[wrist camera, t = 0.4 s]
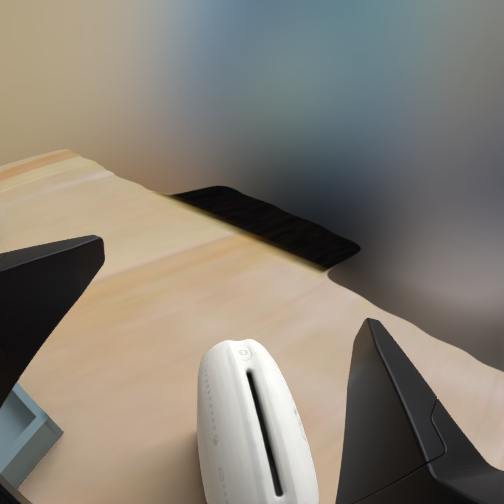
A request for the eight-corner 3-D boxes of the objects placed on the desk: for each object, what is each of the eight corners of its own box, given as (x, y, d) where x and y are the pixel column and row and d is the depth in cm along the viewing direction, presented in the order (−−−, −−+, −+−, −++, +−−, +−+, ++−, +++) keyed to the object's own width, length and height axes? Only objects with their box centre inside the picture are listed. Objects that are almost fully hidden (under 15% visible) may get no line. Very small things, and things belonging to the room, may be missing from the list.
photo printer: (192, 421, 19) (193, 318, 13) (245, 418, 20) (282, 316, 14) (211, 539, 11) (228, 553, 4) (273, 531, 12) (357, 520, 6)
